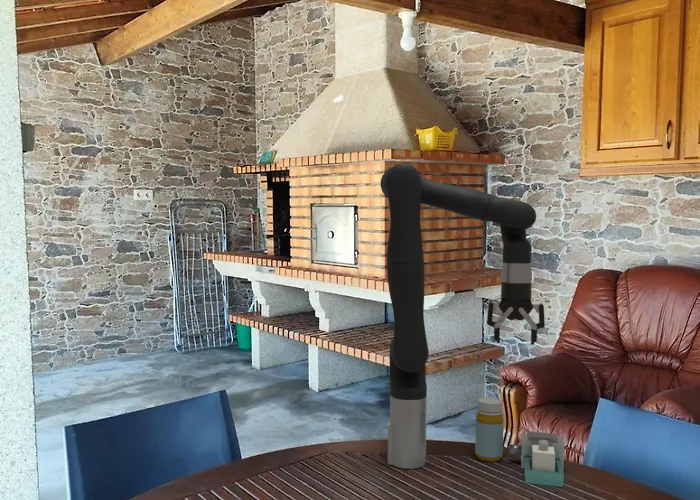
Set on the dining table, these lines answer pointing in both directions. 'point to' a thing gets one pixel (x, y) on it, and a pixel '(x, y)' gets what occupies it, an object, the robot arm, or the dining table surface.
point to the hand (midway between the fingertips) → (515, 343)
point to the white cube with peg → (543, 457)
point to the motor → (526, 458)
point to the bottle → (489, 429)
